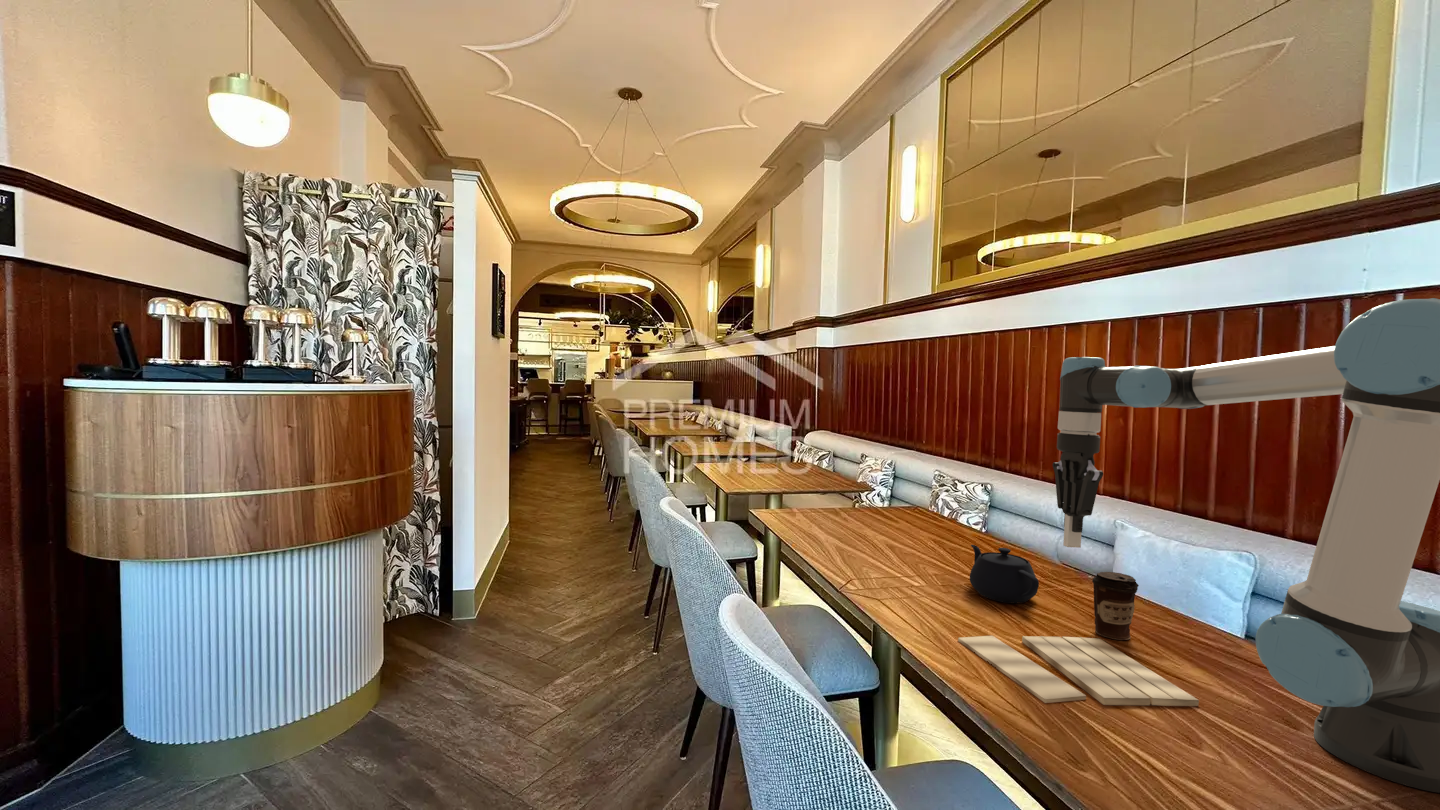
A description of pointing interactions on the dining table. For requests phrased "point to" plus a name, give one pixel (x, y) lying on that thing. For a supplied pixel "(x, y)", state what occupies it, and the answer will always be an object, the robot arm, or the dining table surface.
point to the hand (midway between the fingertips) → (1071, 546)
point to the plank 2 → (1133, 673)
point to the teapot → (1003, 576)
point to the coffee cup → (1114, 604)
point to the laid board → (1086, 671)
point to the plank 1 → (1022, 670)
